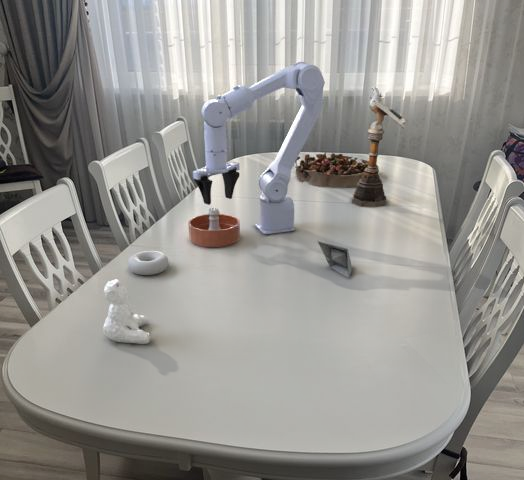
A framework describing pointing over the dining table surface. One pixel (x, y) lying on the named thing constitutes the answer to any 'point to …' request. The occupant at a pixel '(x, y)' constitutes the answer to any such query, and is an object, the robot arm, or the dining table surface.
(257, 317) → the dining table surface
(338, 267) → the grey rectangular frame
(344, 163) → the food dish
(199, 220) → the bowl
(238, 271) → the dining table surface
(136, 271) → the donut
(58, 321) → the dining table surface
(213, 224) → the rook chess piece
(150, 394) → the dining table surface
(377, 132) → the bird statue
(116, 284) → the sitting furry creature
